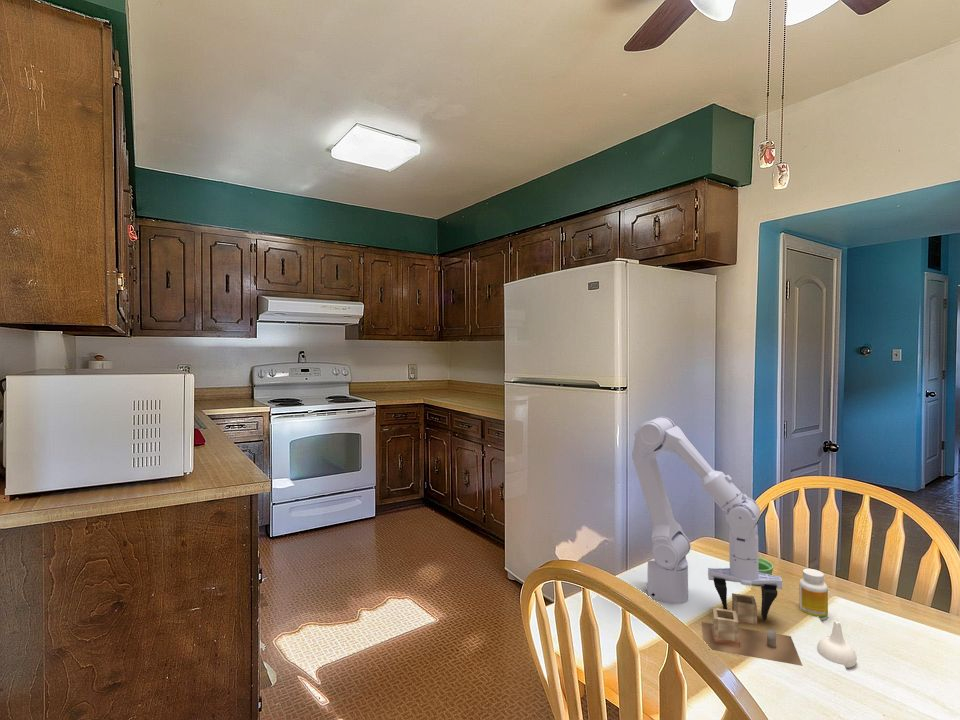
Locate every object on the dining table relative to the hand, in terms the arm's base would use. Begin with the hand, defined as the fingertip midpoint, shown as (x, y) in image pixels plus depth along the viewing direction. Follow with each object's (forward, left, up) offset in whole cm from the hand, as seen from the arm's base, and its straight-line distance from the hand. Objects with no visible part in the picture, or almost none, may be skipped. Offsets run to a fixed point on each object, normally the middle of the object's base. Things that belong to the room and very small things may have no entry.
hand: (744, 614), depth 112 cm
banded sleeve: (0, 0, -2) cm, 2 cm away
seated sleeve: (-5, -10, 0) cm, 11 cm away
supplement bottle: (+15, +8, -2) cm, 17 cm away
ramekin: (+5, +23, -2) cm, 24 cm away
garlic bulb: (+15, -9, -2) cm, 18 cm away
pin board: (-1, -10, -2) cm, 10 cm away
